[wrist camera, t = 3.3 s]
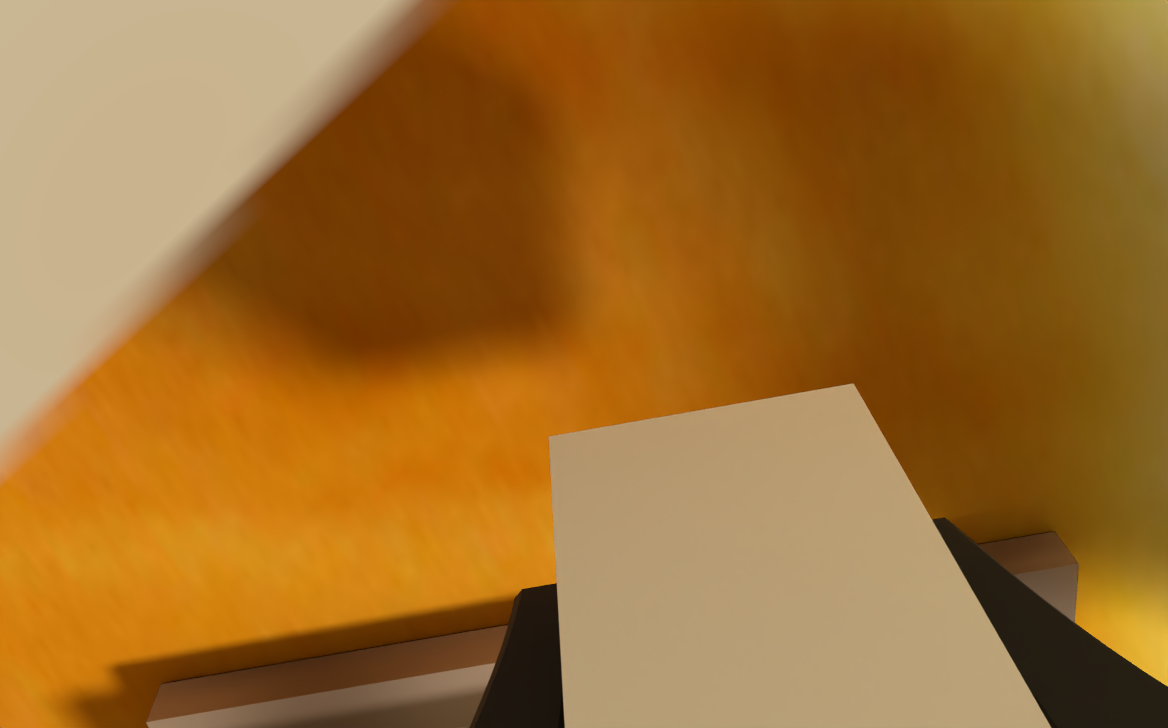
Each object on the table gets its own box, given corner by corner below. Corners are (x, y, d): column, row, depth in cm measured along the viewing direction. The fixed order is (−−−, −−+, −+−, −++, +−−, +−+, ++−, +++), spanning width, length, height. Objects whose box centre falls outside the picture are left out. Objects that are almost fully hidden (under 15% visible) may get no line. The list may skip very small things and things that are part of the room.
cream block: (852, 383, 14) (1062, 747, 9) (866, 617, 16) (1044, 1033, 10) (548, 436, 14) (569, 827, 9) (597, 662, 16) (639, 1097, 11)
